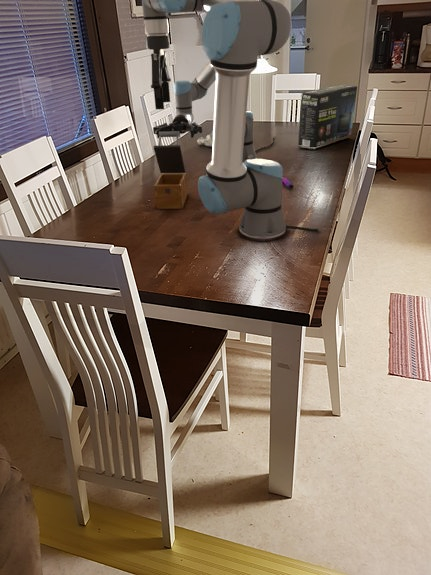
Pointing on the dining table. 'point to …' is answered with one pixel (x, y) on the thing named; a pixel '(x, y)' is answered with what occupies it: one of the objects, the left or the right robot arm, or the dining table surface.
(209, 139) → the fossil
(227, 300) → the dining table surface
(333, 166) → the dining table surface
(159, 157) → the lid
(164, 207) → the chest
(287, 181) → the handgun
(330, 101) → the router box
